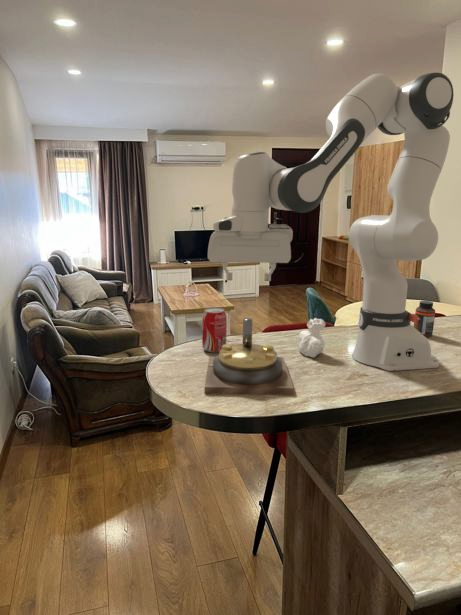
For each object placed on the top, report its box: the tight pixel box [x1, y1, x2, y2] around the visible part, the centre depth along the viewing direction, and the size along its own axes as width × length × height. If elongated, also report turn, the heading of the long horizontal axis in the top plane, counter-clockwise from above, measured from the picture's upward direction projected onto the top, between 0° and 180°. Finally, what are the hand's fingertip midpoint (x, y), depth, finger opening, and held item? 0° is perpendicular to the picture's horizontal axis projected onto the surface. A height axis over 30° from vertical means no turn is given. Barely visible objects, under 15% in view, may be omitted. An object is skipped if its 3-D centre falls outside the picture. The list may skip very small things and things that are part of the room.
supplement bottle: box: [413, 300, 436, 338], centre depth 143 cm, size 6×6×11 cm
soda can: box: [201, 307, 228, 353], centre depth 126 cm, size 7×7×12 cm
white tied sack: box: [296, 317, 326, 359], centre depth 125 cm, size 12×8×11 cm
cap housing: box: [204, 354, 295, 395], centre depth 108 cm, size 20×20×4 cm
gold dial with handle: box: [218, 317, 278, 371], centre depth 106 cm, size 14×14×9 cm
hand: (248, 280), depth 108 cm, fingers open, 8 cm apart
